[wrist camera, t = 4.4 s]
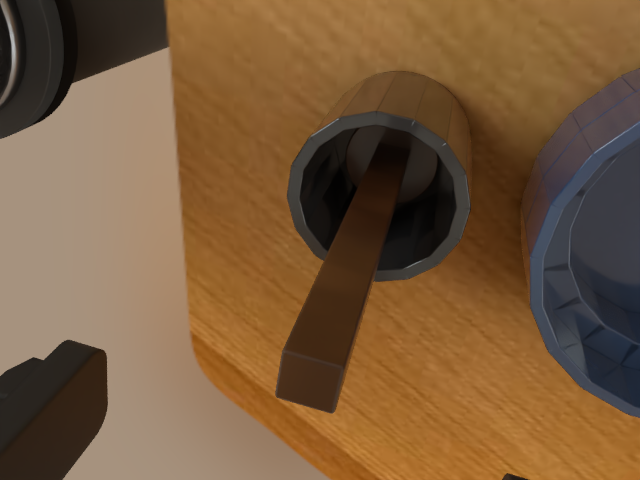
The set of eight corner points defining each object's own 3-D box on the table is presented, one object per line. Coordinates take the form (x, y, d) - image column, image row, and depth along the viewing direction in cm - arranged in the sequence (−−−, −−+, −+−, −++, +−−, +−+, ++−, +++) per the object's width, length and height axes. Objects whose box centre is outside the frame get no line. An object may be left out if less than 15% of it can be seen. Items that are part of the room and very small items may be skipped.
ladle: (346, 176, 28) (215, 422, 14) (362, 94, 27) (229, 284, 12) (428, 196, 28) (378, 472, 14) (451, 114, 26) (420, 336, 12)
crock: (317, 190, 30) (277, 257, 24) (341, 56, 27) (301, 93, 20) (449, 222, 29) (441, 300, 23) (489, 88, 26) (493, 137, 20)
